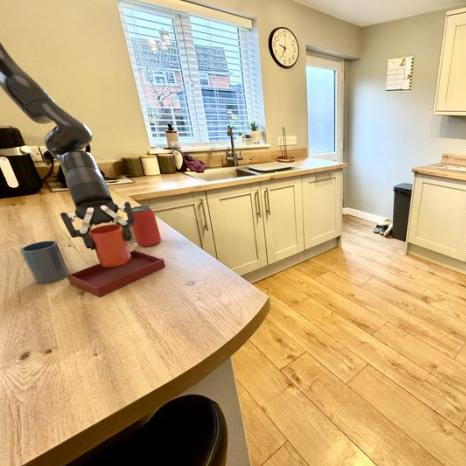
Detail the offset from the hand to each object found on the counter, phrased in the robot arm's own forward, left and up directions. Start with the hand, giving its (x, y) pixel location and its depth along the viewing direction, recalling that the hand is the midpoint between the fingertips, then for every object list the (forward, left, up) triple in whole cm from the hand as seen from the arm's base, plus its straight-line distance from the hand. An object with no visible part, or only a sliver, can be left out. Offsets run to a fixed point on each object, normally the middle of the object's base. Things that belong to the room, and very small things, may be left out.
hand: (110, 244), depth 71 cm
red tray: (0, +2, -9) cm, 10 cm away
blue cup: (-8, +15, -9) cm, 20 cm away
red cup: (+1, +2, -5) cm, 6 cm away
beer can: (+16, +15, -10) cm, 24 cm away
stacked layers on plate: (+17, +25, -10) cm, 32 cm away
